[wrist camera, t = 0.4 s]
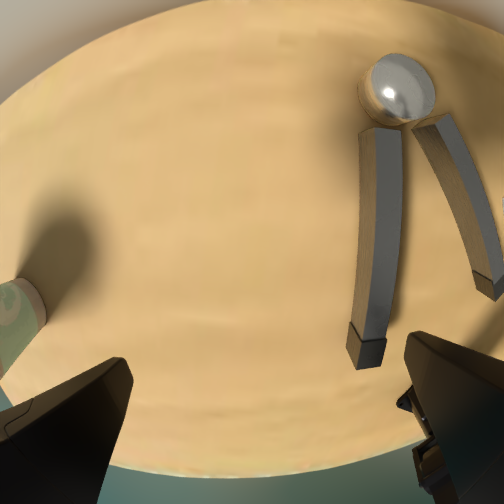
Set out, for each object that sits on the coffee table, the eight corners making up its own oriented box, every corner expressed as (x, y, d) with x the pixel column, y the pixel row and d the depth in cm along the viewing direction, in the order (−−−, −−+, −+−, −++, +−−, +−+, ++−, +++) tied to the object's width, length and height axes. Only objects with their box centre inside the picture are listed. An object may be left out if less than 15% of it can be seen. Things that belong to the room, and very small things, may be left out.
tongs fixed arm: (410, 130, 16) (433, 124, 13) (426, 118, 16) (450, 112, 13) (476, 289, 19) (495, 302, 16) (488, 276, 19) (508, 288, 16)
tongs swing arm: (350, 64, 15) (365, 46, 12) (407, 75, 15) (429, 62, 11) (345, 347, 20) (356, 371, 17) (396, 340, 20) (411, 362, 17)
